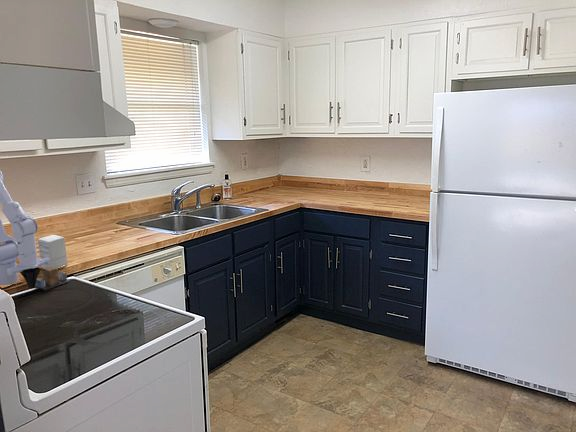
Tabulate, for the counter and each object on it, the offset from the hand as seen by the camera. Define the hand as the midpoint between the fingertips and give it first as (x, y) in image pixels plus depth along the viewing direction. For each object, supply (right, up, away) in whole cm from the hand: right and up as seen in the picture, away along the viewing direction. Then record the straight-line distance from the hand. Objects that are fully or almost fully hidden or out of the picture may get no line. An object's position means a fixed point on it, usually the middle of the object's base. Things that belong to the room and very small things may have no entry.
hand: (31, 287), depth 168 cm
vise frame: (+4, 0, +7) cm, 8 cm away
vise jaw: (+2, 0, +3) cm, 3 cm away
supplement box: (-4, +5, +24) cm, 25 cm away
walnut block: (+4, +1, +6) cm, 8 cm away
